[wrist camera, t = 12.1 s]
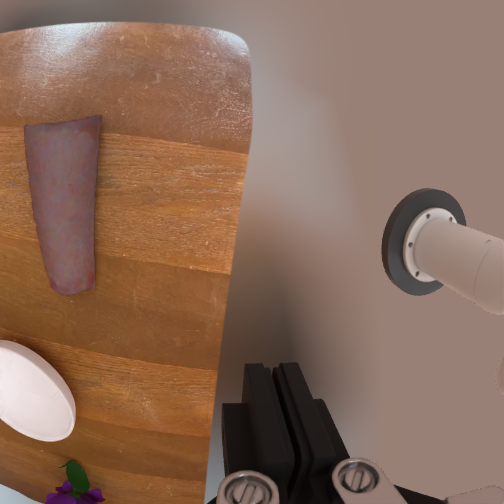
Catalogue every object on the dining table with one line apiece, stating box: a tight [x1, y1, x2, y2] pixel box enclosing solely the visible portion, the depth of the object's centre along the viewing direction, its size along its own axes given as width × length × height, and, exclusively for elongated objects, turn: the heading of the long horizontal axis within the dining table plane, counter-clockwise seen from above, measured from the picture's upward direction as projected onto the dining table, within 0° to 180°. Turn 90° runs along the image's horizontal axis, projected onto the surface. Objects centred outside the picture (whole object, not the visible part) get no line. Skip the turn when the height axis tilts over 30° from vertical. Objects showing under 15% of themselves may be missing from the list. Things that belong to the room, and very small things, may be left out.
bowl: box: [0, 340, 76, 441], centre depth 38 cm, size 20×20×7 cm
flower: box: [45, 461, 105, 504], centre depth 45 cm, size 15×15×14 cm
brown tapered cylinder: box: [24, 115, 102, 296], centre depth 32 cm, size 21×9×9 cm, turn 1°
